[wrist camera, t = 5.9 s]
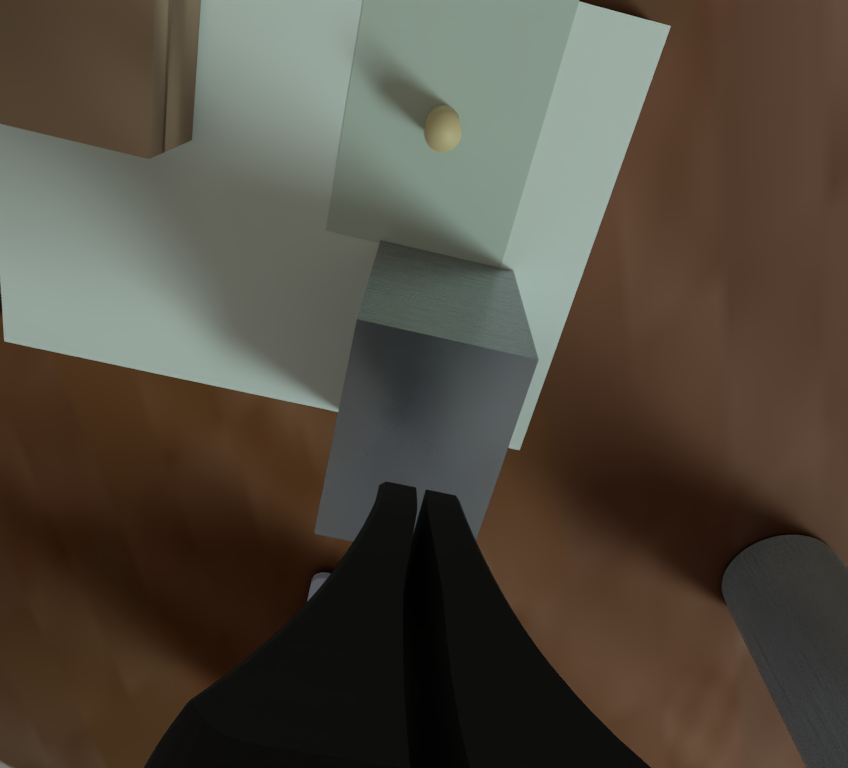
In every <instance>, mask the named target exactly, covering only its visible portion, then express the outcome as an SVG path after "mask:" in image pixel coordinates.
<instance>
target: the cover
mask: <svg viewBox="0 0 848 768" xmlns="http://www.w3.org/2000/svg"><path fill="white" fill-rule="evenodd" d="M200 9H201V0H0V124H3V125H7V126H12V127H16V128H20V129H24V130H28V131H33V132H37V133H41V134H45V135H50V136H54V137H58V138H62V139H66V140H71V141H75V142H79V143H83V144H88V145H92V146H96V147H100V148H104V149H109V150H113V151H117V152H121V153H126V154H130V155H134V156H138V157H142V158H147V159H150V158H152V157H155V156H157V155H159V154H161V153H164V152H166V151H168V150H171V149H173V148H175V147H178V146H180V145H182V144H184V143H187V142H189V141H191V140H192V131H193V116H194V100H195V85H196V70H197V55H198V39H199V24H200Z"/></svg>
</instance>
